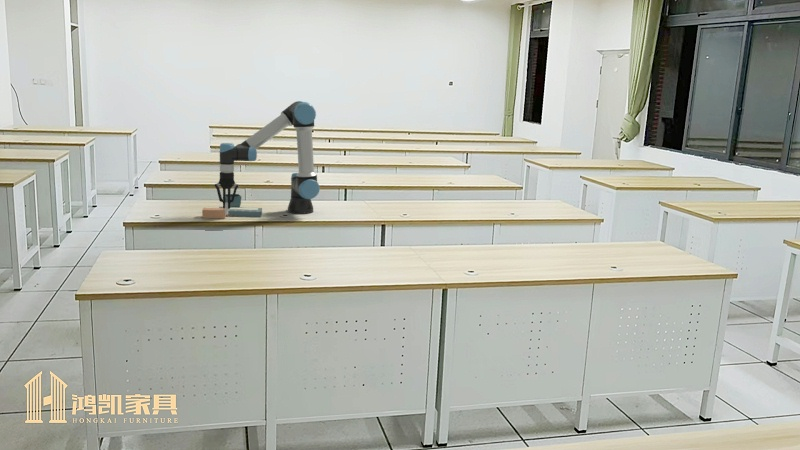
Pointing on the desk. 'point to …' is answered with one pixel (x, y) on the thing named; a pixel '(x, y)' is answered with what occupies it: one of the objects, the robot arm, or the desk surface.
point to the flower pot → (236, 200)
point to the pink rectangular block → (213, 213)
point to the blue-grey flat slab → (244, 212)
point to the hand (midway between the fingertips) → (226, 214)
